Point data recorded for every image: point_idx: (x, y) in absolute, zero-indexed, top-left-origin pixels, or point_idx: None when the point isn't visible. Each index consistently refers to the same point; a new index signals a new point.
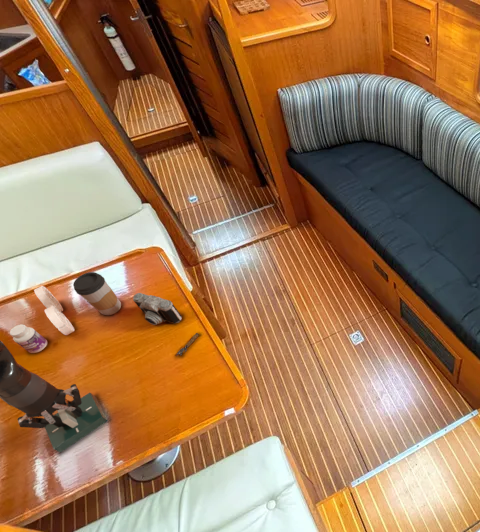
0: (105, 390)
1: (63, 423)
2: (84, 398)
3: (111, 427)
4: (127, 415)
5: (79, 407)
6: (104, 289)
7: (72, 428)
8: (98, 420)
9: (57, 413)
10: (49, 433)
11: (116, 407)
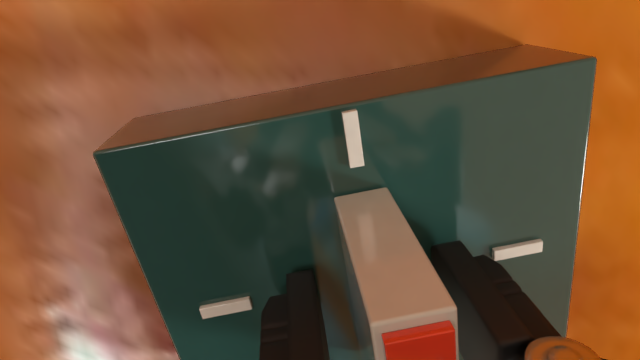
0: (612, 26)
1: (327, 350)
2: (527, 108)
3: None
4: (614, 322)
5: (512, 284)
6: None
7: (357, 352)
8: None
9: (249, 135)
10: (175, 309)
11: (596, 237)
